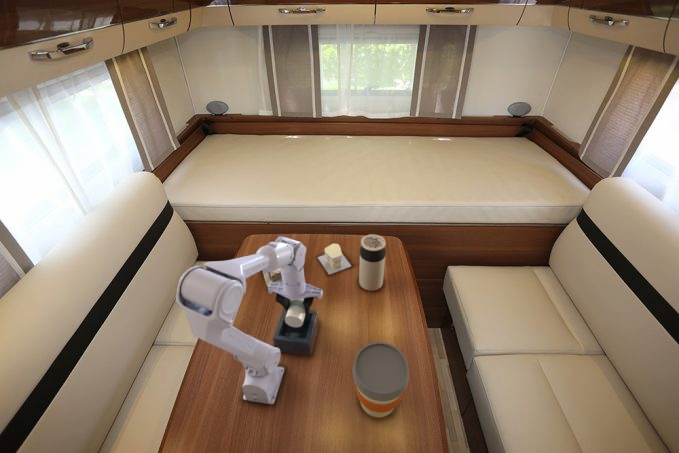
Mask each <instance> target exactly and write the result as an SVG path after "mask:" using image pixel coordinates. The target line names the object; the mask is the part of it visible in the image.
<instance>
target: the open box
mask: <svg viewBox="0 0 679 453" xmlns="http://www.w3.org/2000/svg"><path fill="white" fill-rule="evenodd" d="M286 314H287V312H286V310H285V309H284V308H283V310H282V313H281V315H280V318H279V319H278V320H279V321H278V324H277V326H276V329H275V332H274V334H273V338H272V340H273V344H274V347H277V348H279V349H280V353H281V352H282V353H289V354H295V355H296V354H297V355H303V356H310V357H311V356H312V352H313V349H314V345H315V340H316V337H317V332H318V328H319V324H320V321H319V312H318V310H315V309H310V311H309V314H308V315H306V314H305V318H304V321H303V324H302V326H301V327H291V326H289V325H288V324H287V323H286V322H285V317H286Z"/></svg>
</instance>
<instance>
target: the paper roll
mask: <svg viewBox="0 0 679 453" xmlns="http://www.w3.org/2000/svg"><path fill="white" fill-rule="evenodd" d="M303 301H304V298H302V299H295V300H293V299H290V306H289V309H288V312H287V314H286V317H285V322H286V323H287V324H288V325H289V326H291V327H301V326H302V324H303V321H304V318H305V314H306V313H305V307H304V305H303Z"/></svg>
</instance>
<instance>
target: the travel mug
mask: <svg viewBox="0 0 679 453" xmlns="http://www.w3.org/2000/svg"><path fill="white" fill-rule="evenodd" d="M360 245H361V246H360V247H359V273H358V276H359V277H358V278H359V279H358V283H359V285H360V287H361V288H362V289H363V290H366V291H372V292H373V291H377V290H379V289H380V288H382V286H383V284H384V273H385V264H386V251H387V250H386V245H387V244H386V240H385V238H384V237H383V236H381V235H379V234H373V233H372V234H371V233H370V234H368V235H364V236H363V237H362V238H361V240H360Z"/></svg>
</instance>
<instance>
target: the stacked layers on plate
mask: <svg viewBox="0 0 679 453" xmlns="http://www.w3.org/2000/svg"><path fill="white" fill-rule="evenodd" d="M317 260H319V262H320V264H321V265H322V266H323V269H325V271H326V272H327V274H328V275H329V276H330V275H334V274H335V273H338V272H341V271H343V270H346V269H348V268H351V267H352V265H351V263H350V262H349V261H348V259H347V257H346V256H345V255H344V254H343V253H342V248H341V246H340V245H339V243H331V244H329V245H328V246H325V248H324V254H322V255H320V256H317Z"/></svg>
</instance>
